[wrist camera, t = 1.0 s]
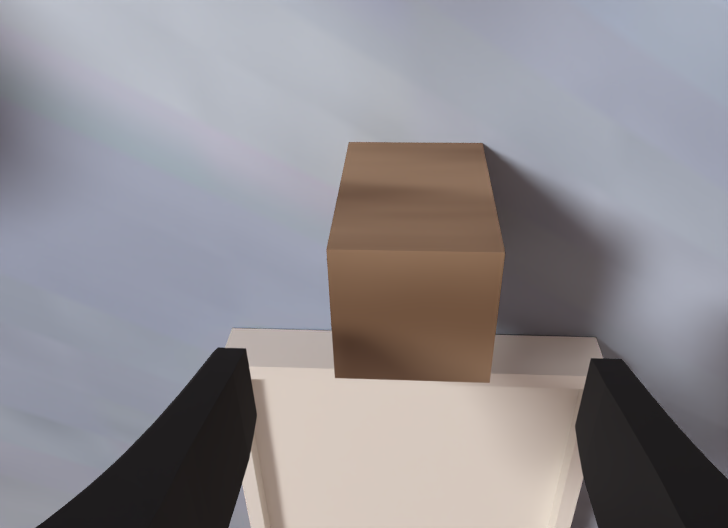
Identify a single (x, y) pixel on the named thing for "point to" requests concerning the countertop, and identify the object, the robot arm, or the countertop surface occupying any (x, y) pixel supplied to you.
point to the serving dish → (413, 438)
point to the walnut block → (415, 263)
